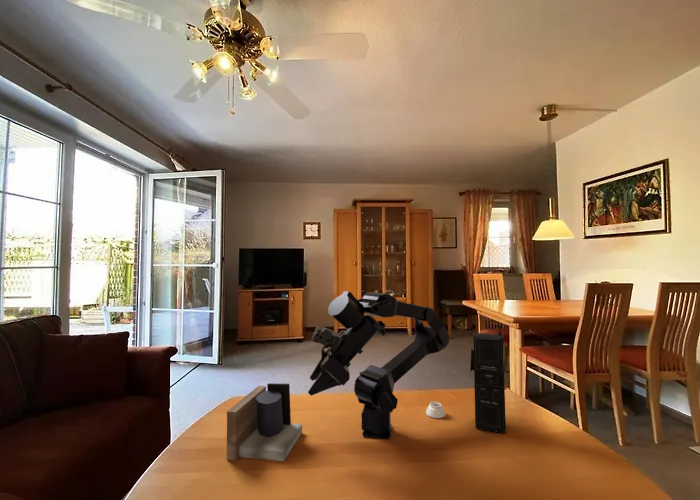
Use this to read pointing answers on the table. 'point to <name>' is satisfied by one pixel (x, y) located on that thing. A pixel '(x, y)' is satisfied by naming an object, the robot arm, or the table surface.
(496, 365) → the portable radio
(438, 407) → the lidless jar
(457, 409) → the table surface
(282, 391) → the dark grey mug
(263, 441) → the wall board
